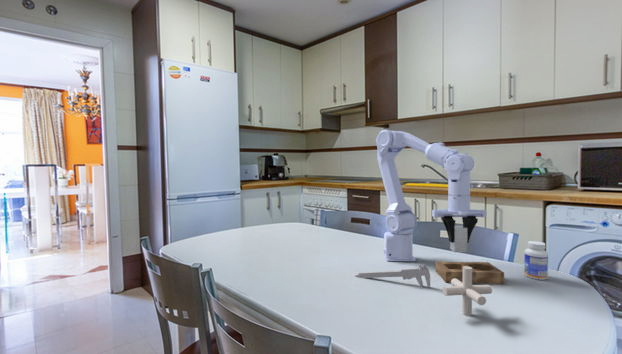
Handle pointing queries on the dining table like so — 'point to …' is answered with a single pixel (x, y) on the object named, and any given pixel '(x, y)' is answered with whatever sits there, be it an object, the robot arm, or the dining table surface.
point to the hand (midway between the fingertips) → (458, 241)
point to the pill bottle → (536, 261)
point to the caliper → (401, 274)
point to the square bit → (459, 239)
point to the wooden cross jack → (467, 291)
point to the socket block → (480, 272)
